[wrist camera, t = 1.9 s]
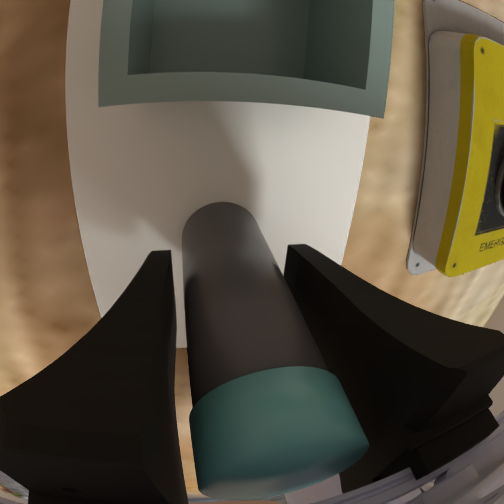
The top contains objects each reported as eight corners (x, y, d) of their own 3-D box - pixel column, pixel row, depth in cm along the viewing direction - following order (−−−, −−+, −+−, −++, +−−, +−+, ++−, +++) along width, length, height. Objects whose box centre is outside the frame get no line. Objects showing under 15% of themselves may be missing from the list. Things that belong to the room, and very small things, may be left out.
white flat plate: (320, 330, 16) (322, 333, 16) (112, 347, 14) (111, 350, 14) (378, -35, 7) (381, -36, 7) (83, -59, 5) (81, -60, 5)
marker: (258, 270, 13) (340, 479, 6) (181, 274, 13) (203, 505, 5) (264, 198, 12) (396, 417, 4) (177, 200, 11) (189, 460, 3)
